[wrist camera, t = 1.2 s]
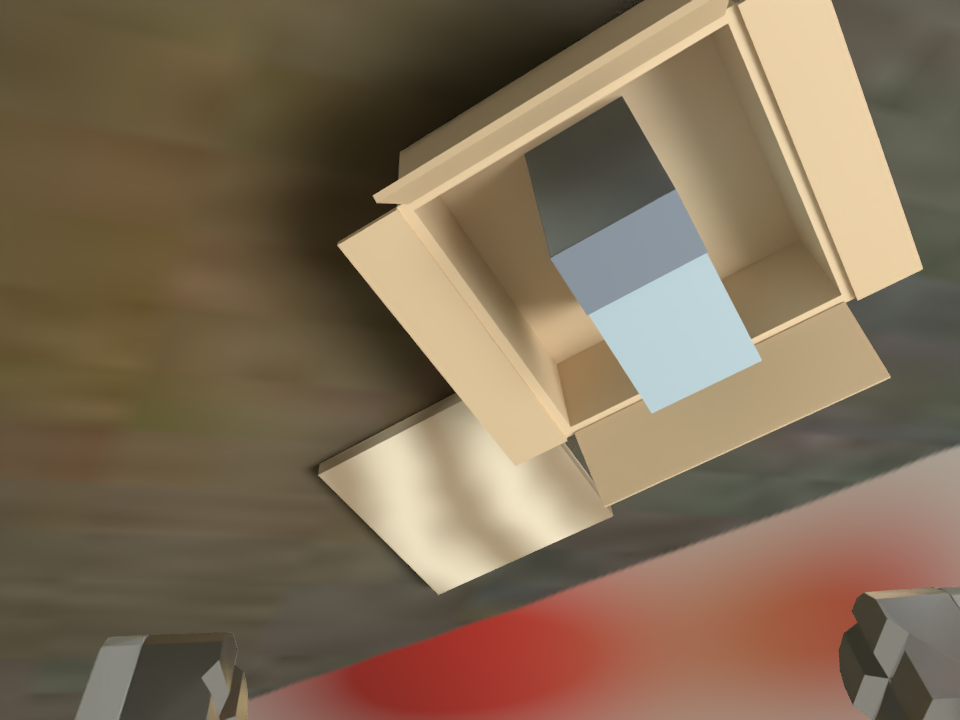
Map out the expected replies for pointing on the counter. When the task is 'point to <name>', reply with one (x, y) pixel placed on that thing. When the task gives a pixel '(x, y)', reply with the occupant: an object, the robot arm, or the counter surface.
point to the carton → (711, 206)
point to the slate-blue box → (636, 258)
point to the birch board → (461, 494)
